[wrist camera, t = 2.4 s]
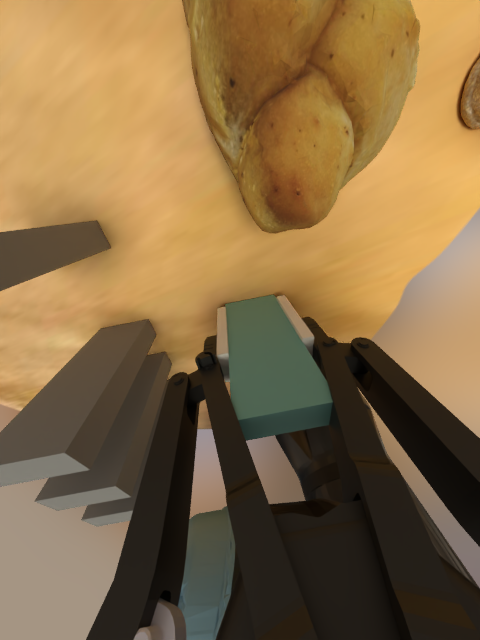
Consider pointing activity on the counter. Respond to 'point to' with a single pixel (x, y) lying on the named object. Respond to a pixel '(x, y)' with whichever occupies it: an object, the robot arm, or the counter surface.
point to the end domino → (46, 250)
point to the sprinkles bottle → (472, 98)
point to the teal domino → (272, 372)
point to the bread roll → (300, 94)
